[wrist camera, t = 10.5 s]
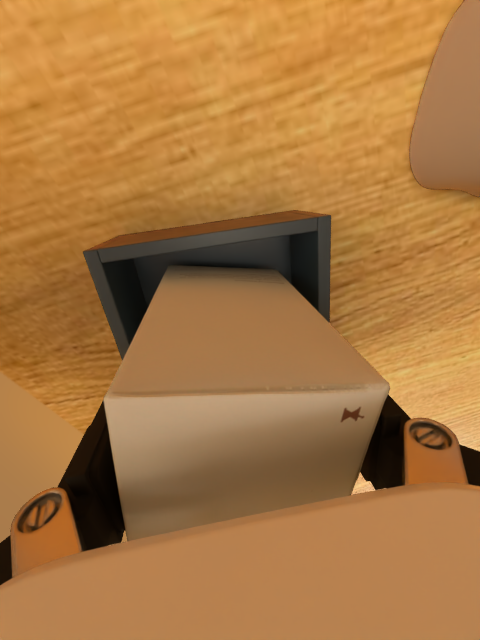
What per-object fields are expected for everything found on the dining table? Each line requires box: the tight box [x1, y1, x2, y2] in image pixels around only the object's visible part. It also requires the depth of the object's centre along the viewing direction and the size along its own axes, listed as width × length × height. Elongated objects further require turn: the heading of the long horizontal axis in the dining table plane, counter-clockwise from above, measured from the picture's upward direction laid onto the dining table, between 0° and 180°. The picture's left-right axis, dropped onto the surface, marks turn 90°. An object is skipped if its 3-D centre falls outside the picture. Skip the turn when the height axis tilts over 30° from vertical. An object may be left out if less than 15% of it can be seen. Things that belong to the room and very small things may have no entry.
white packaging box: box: [104, 265, 390, 541], centre depth 14 cm, size 7×7×13 cm
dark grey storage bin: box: [83, 210, 331, 361], centre depth 19 cm, size 12×12×6 cm
